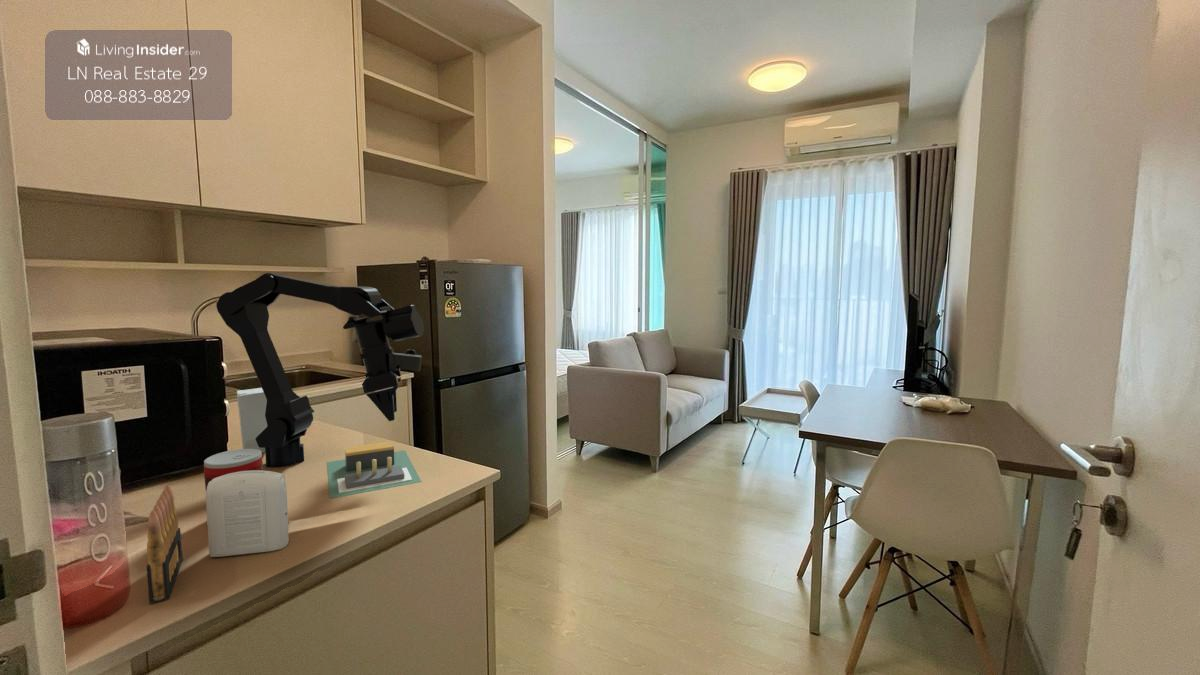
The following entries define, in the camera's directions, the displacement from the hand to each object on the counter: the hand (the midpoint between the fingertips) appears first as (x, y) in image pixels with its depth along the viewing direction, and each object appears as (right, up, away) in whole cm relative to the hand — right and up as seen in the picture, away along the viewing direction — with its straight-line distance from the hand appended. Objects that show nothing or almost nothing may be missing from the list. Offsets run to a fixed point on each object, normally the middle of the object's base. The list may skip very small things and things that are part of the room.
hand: (393, 416), depth 103 cm
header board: (-3, -13, -2) cm, 13 cm away
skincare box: (-37, -10, +12) cm, 40 cm away
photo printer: (-9, -16, -29) cm, 35 cm away
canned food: (-19, -15, -20) cm, 31 cm away
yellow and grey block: (-5, -11, +1) cm, 12 cm away
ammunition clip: (-15, -17, -37) cm, 43 cm away
